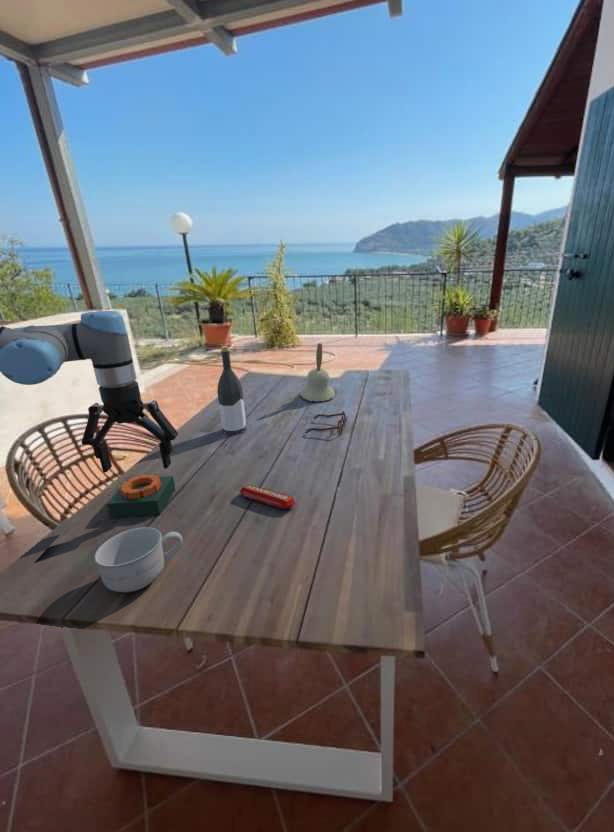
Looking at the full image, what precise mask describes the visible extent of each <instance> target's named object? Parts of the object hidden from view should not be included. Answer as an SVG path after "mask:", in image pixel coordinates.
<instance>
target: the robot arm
mask: <svg viewBox="0 0 614 832" xmlns="http://www.w3.org/2000/svg"><path fill="white" fill-rule="evenodd" d="M125 323H126V322H125V320H124V316H123V315H122V314H121V313H120V312H119V311H115V310H97V311H87V312H84V313H81V314H80V322H77V323H67V324H65V323H63V324H49V325H47V324H46V325H28V326H23V327H22V326H21V327H14V328H12V327H11V328H10V327H7V326H3V325H1V324H0V374H2V376H4V377H5V378H6V379H8V380H10V381H11V382H13V383H16V384H19V385H24V386H32V385H33V386H34V385H38V384H42V383H44V382H46V381H48V380H49V379H50V378H52V377H54V376H55V375H57V373H58V372H59V371H60V369H61V367H62V365H64V363H67V362H75V361H76V362H77V361H86V360H90V361H91V363H92V367H93V368H92V369H93V372H94V376H95V380H96V384H97V385H98V386H99V387H98V392H99V396H100V400H101V403H102V404H100V403H98V402H95V403H93V404H91V405H90V406H89V407H88V408H87V410H88V419H87V422H86V425H85V429H84V432H83V436H82V438H81V445H83V446H91V447H92V450H93V453H94V457H95V458H96V459H97V460H98V459H99V463H100V466H101V469H102V473H108V472H109V471H110V470H111V468H112V467H113V465H112V464H113V463H112V461H111V460H112V459H111V456H110V453H109V448H108V444H107V442H106V441H104V439H105V438H106V436H107V434H108V433H109V431H110V430H111V429H112V427H114V424H115V423H117V424H118V425H122V424H133V423H135V424H136V425H138V426H141V427H142V428H144V429H145V430H146V431H147V432H149V433H150V434H151V435H152V436H154V438H156V439H157V440H159V441H160V442H159V443H158V447H159V451H160V456H161V461H162V465H163V466H162V467H163V469H165V470H167V469H168V468H169V466H170V465H171V464H172V460H171V454H172V452H173V445H172V441H175V440H176V438H177V437H178V436H179V432H178V431H177V430H176V428H175V427H174V426H173V425H172V423H171V422H170V421H169V419H168V418H167V417H166V416H165V414H164V413H163V411H162V410H161V409H160V407H159V404H158V401H157V400H156V399H155V400H151V401H150V402H143V400H142V398H141V397H142V395H141V391H140V385H139V383H138V381H137V378H138V377H137V373H136V369H135V364H134V358H133V354H132V349H131V343H130V339H129V334H128V331H127V327H126V324H125ZM144 410H145V411H146V412H147V413H149V415H150V416H151V418H152V419H151V418H150V417H149V415H148V414H147V413H146V412H145V411H144ZM102 413H104V414H105V415H106V416H108V417H107V419H106V420H105V422H104V424H103V425H102V427H101V428H100V429H99V431H98V432H97V434H96V435H95V433H96V430H97V427H98V423H99V420H100V418H101V414H102ZM153 420H154V421H153ZM94 436H95V437H94ZM103 441H104V442H103Z"/></svg>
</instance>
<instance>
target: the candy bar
mask: <svg viewBox="0 0 614 832" xmlns="http://www.w3.org/2000/svg"><path fill="white" fill-rule="evenodd" d="M238 493H240V495H241V496H243V497H245V498H247V499H251V500H254V501H256V502H259V503H262V504H267V505H269V506H272V507H275V508H279V509H282V510H286V509H289V508H291V507H293V506H294V505H297V502H296V501H295V499H294V497H292V496H290V495H287V494H284V493H281V492H277V491H274V490H271V489H269V488H265V487H261V486H259V485H254V484H247V485H245V486H243V487H242V488H241V489H240V490H239V492H238Z"/></svg>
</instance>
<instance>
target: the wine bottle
mask: <svg viewBox="0 0 614 832" xmlns="http://www.w3.org/2000/svg"><path fill="white" fill-rule="evenodd" d="M220 353H221V360H222V372H221V375H220V377H219V379H218V382H217V390H216V392H217V399H218V407H219V414H220V422H221V429H222V430H221V431H222V433H223V432H225V433H227V434H237V433H240V432H242V431H244V430H245V428H246V429H247V419H246V411H245V403H244V401H245V400H244V394H243V387H242V386H243V385H242V384H241V381H240V380H239V378H238V376H237V374H236V373H235V371H234V370H233V369H232V365H231V364H232V363H231V356H230V350H229V346H228V345H222V346H221V351H220ZM245 431H246V430H245ZM245 431H244V432H245ZM225 433H224V434H225ZM227 434H226V435H227ZM240 434H241V433H240ZM237 435H238V434H237Z"/></svg>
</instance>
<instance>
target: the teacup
mask: <svg viewBox="0 0 614 832" xmlns="http://www.w3.org/2000/svg"><path fill="white" fill-rule="evenodd" d="M172 539H176V543H175V545H174V546H173V547H172V548H171V549H170V550H168V551H165V549H166V545H167V542H168V541H169V540H172ZM183 543H184V539H183V536H182V535H181V533H179V532H177V531H170V532H167V533H166V534H164V535H163V536H162V533H161V531H160V530H159V529H158V528H155V527H151V526H150V527H149V526H145V527H143V526H142V527H136V528H131V529H127V530H125V531H122V532H120V533H118V534H115V535H113V536H112V537H110V538H109V539H107V540H105V542H103V543H102V544H101V545H100V546H99V547H98V549H97V550H96V552H95V554H94V562H95V564H96V566H97V569H98V572H99V575H100V579H101V581H102V582H103V584H104V586H105V587H106V588H107V589H109V590H110V591H112V592H116V593H133V592H136V591H140V590H142V589H143V588H145V587H147V586H149V585H150V584H152V583H153V582H154V581H155V580H156V579H157V578H158V576H159V575H160V574H162V571H163V570H164V567H165V566H166V565H165V564H166V563H167V562H168V561H169V560H170V559H171V557H172V556H174V555H175V554H177V552H178V551H179V550H180V549H181V548H182V545H183Z"/></svg>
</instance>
